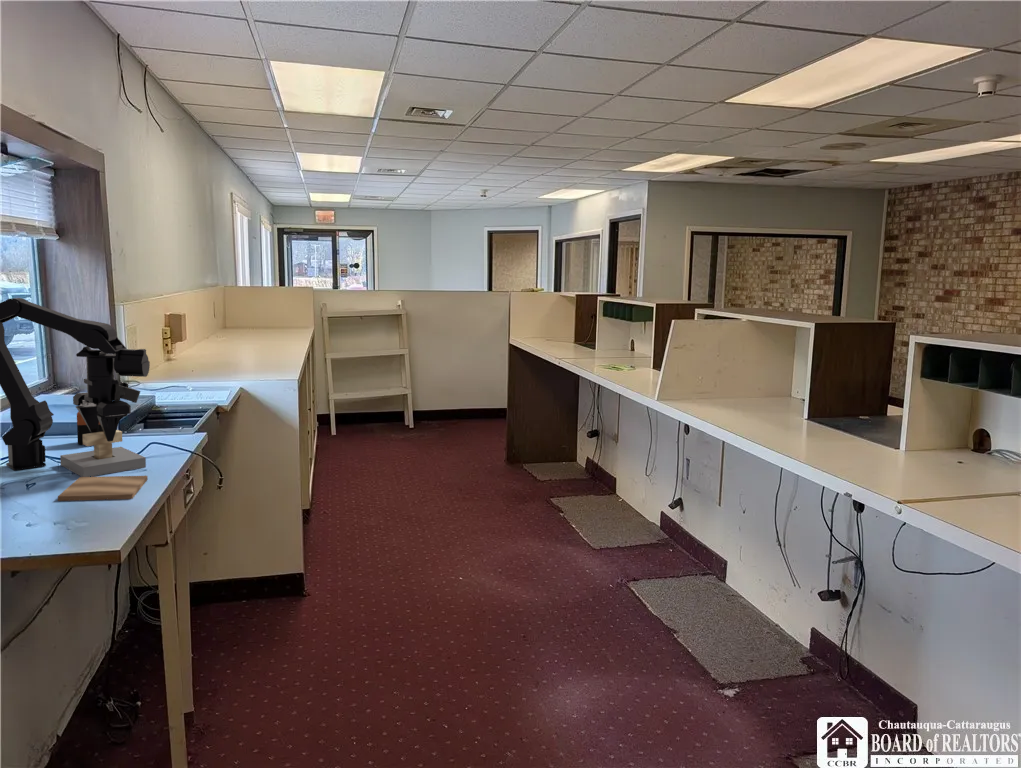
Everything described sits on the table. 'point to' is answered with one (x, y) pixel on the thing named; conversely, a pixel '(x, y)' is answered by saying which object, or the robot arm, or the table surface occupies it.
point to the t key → (101, 443)
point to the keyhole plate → (102, 462)
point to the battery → (83, 428)
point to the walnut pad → (103, 488)
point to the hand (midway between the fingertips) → (102, 437)
